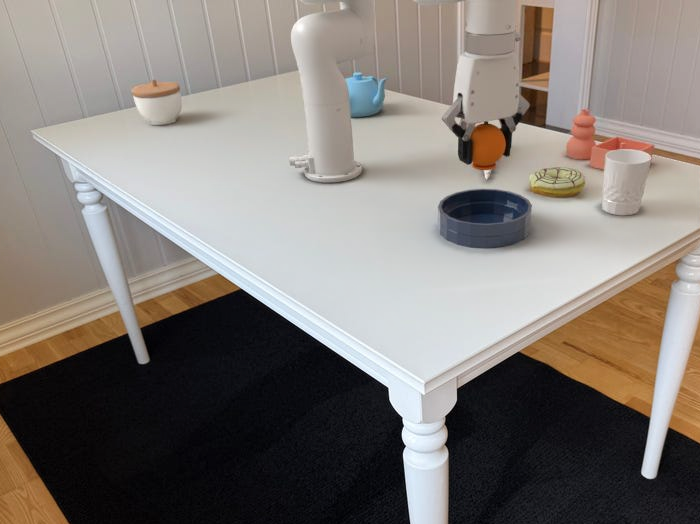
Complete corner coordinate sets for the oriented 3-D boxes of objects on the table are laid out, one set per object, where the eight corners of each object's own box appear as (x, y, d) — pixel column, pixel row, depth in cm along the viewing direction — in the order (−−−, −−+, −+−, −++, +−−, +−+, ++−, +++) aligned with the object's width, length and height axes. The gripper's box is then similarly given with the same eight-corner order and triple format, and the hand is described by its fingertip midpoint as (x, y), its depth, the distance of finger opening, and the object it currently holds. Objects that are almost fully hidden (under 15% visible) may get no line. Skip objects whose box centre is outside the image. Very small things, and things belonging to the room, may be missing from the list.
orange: (467, 174, 112) (469, 129, 108) (460, 160, 118) (461, 116, 114) (508, 172, 113) (511, 127, 109) (499, 158, 118) (501, 114, 114)
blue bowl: (446, 254, 115) (446, 228, 112) (432, 216, 128) (432, 192, 125) (540, 247, 116) (542, 220, 113) (517, 210, 129) (518, 185, 126)
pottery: (651, 164, 147) (659, 117, 141) (626, 175, 141) (634, 127, 136) (580, 147, 158) (585, 103, 152) (555, 157, 153) (559, 112, 147)
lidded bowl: (196, 118, 191) (187, 76, 184) (161, 130, 182) (150, 87, 176) (165, 113, 196) (155, 72, 190) (129, 124, 188) (118, 82, 181)
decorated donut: (533, 180, 142) (534, 162, 140) (586, 184, 139) (588, 165, 137) (524, 198, 134) (525, 179, 131) (580, 203, 131) (582, 184, 128)
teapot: (383, 103, 196) (381, 65, 190) (390, 117, 184) (388, 77, 178) (332, 107, 194) (329, 69, 189) (336, 122, 182) (332, 81, 176)
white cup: (635, 220, 123) (644, 166, 118) (592, 212, 127) (599, 159, 121) (647, 205, 129) (656, 152, 123) (606, 198, 132) (613, 146, 126)
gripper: (523, 33, 110) (515, 143, 120) (428, 46, 104) (428, 160, 114) (551, 41, 104) (540, 156, 115) (452, 55, 99) (450, 174, 109)
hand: (484, 157), depth 115 cm, fingers closed on orange, 6 cm apart
